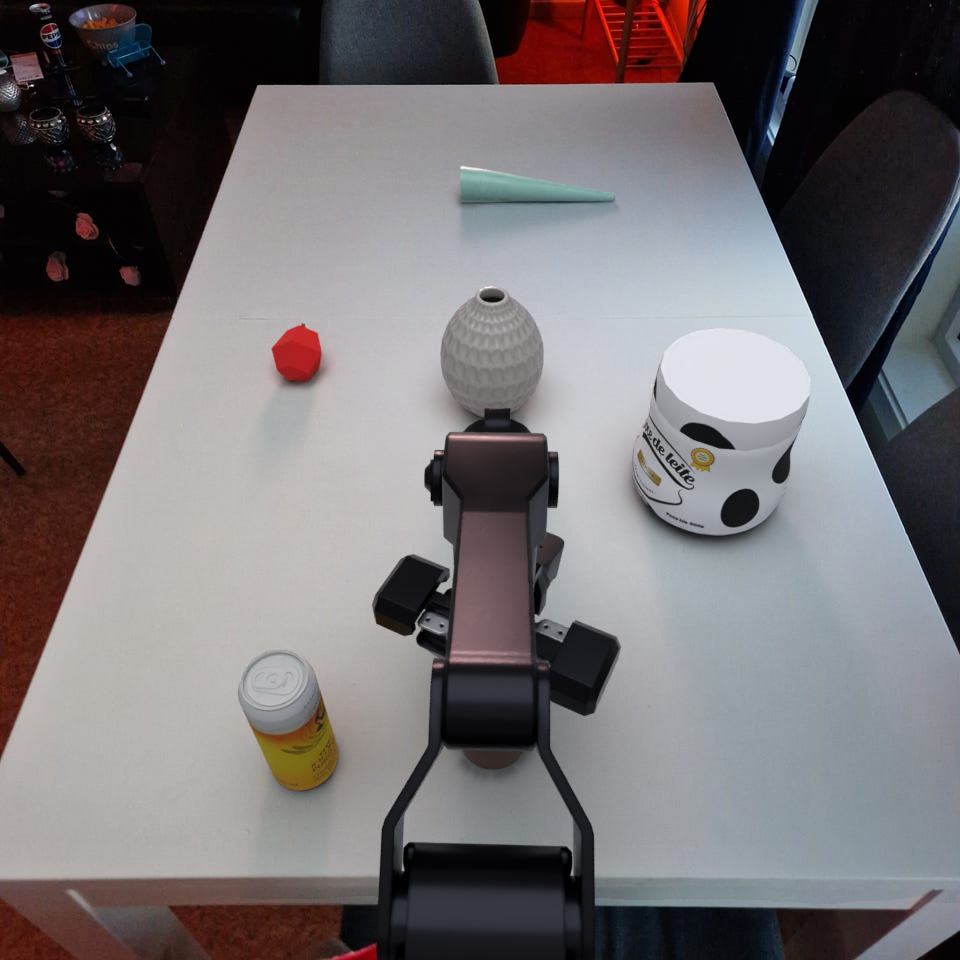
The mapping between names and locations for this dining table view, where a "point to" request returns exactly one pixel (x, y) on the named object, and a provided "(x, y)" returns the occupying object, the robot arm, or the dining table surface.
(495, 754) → the bottle
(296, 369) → the apple
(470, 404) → the vase
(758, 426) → the milk container
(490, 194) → the long green cone
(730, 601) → the dining table surface
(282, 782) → the beer can
